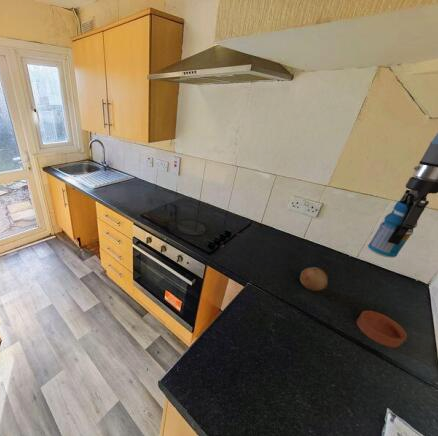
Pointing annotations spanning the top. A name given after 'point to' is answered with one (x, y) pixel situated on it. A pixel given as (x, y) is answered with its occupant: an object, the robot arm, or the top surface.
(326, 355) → the top surface
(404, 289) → the top surface
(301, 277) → the onion
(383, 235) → the beverage bottle
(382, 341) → the bottle stand
